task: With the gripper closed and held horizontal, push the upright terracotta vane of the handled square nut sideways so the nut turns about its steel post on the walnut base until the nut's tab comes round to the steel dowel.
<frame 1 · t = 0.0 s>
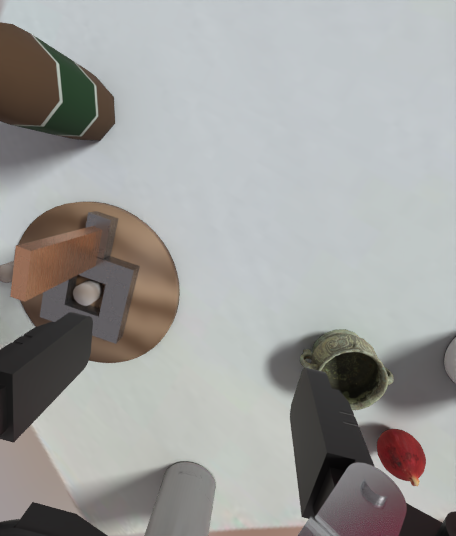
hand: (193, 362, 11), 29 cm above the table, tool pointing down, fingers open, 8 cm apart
beer bottle: (89, 110, 37), on the table
red oval fruit: (388, 431, 45), on the table
vessel: (338, 352, 43), on the table
post base: (99, 285, 43), on the table
handled square nut: (63, 290, 34), point 9 cm above the table, hinge at 0.0°
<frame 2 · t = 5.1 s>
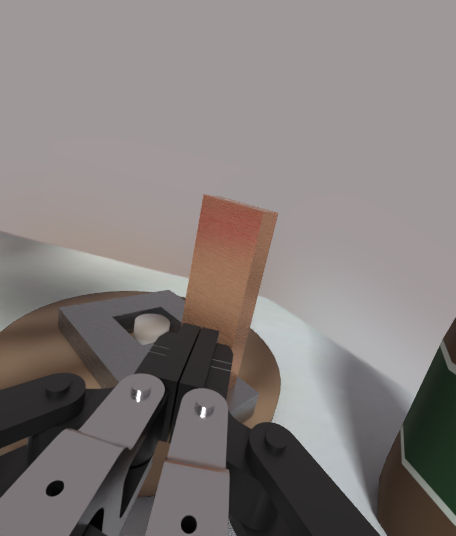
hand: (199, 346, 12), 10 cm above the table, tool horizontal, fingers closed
post base: (147, 360, 27), on the table
handled square nut: (179, 282, 23), point 9 cm above the table, hinge at 0.0°
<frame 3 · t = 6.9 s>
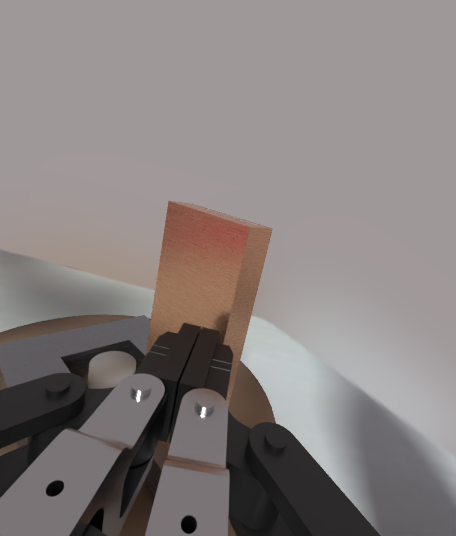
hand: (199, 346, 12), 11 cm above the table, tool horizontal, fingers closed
post base: (107, 411, 21), on the table
handled square nut: (142, 317, 17), point 9 cm above the table, hinge at 0.5°, touching gripper
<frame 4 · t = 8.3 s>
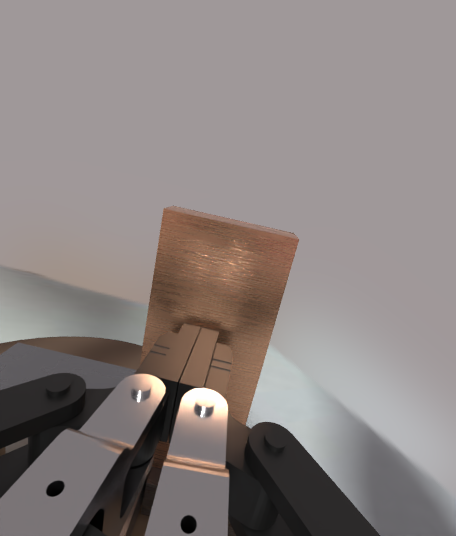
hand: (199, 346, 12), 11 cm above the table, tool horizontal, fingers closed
post base: (40, 482, 16), on the table
handled square nut: (104, 352, 13), point 9 cm above the table, hinge at 39.2°, touching gripper
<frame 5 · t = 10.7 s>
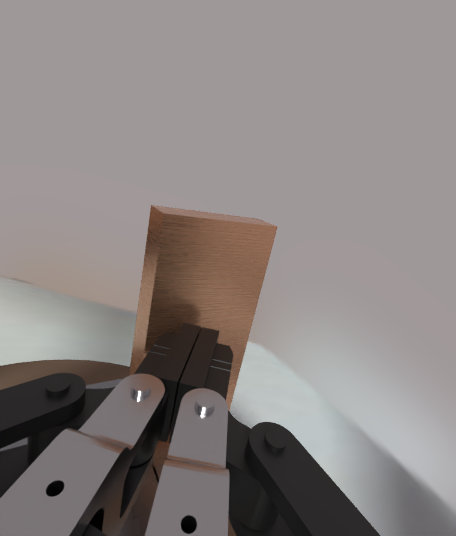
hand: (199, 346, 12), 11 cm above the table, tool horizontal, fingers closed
handled square nut: (86, 384, 11), point 9 cm above the table, hinge at 74.4°, touching gripper, post base
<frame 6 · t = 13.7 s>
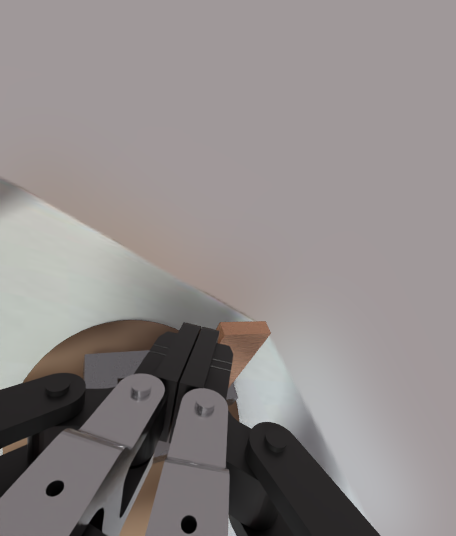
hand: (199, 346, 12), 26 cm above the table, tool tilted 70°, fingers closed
post base: (136, 413, 33), on the table
handled square nut: (180, 371, 30), point 9 cm above the table, hinge at 74.4°, touching post base
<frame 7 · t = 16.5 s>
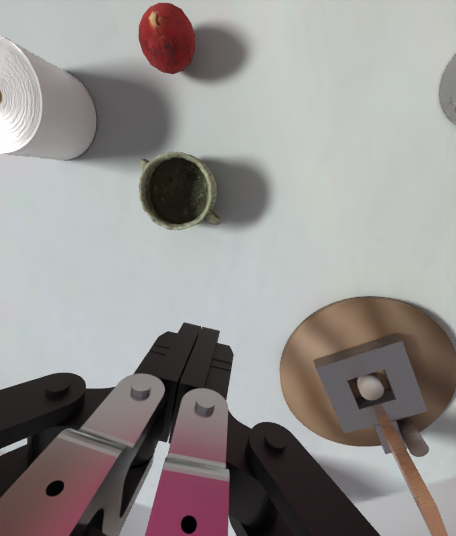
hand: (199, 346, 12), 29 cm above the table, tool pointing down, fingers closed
toilet tissue: (54, 118, 39), on the table
red oval fruit: (177, 55, 35), on the table
vessel: (188, 191, 39), on the table
post base: (362, 372, 44), on the table
handled square nut: (393, 435, 36), point 9 cm above the table, hinge at 74.4°, touching post base
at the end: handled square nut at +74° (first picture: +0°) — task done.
